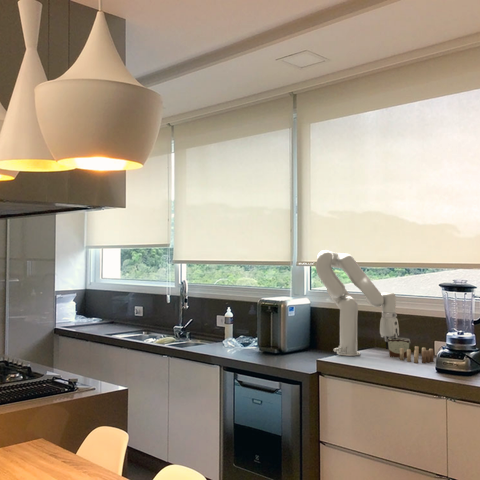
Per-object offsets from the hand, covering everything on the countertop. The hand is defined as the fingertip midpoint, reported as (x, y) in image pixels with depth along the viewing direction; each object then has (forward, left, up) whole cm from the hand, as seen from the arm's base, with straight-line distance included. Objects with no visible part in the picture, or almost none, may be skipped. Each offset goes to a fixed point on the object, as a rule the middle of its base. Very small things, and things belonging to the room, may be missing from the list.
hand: (389, 348), depth 304 cm
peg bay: (-1, -20, -3) cm, 20 cm away
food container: (0, -7, -4) cm, 7 cm away
